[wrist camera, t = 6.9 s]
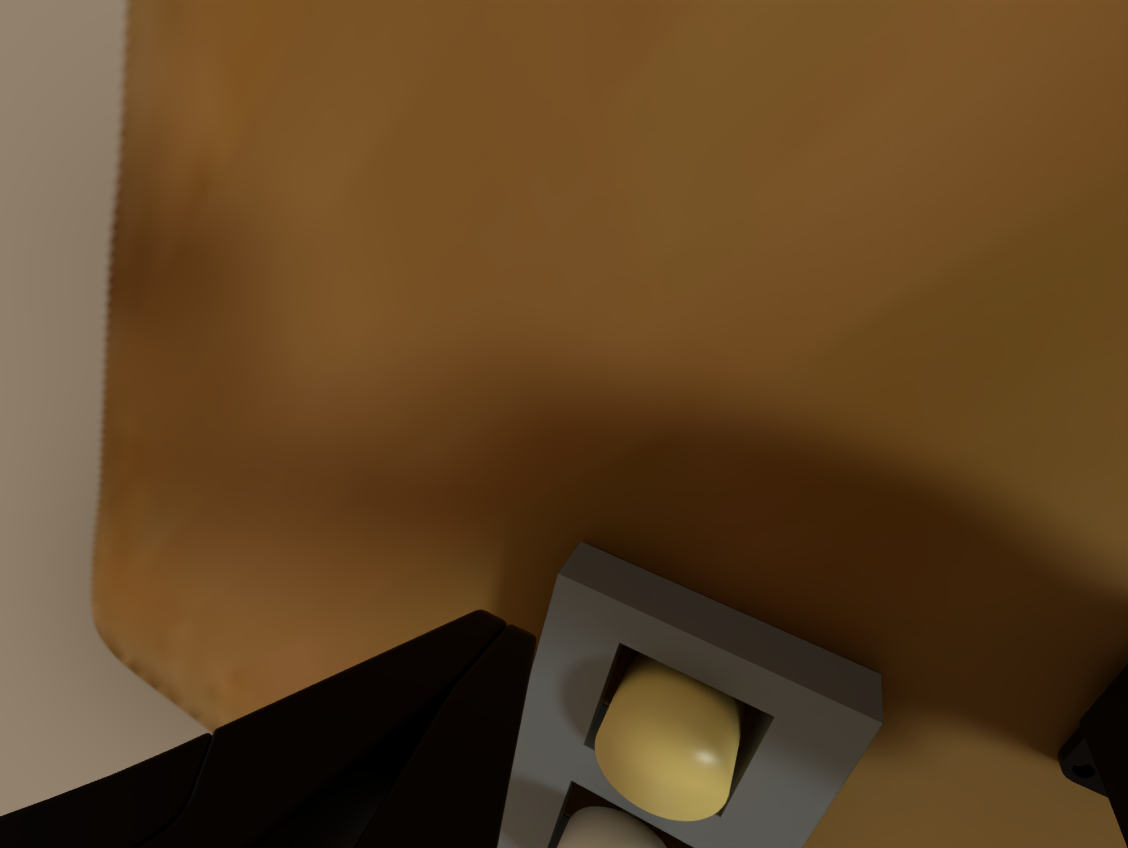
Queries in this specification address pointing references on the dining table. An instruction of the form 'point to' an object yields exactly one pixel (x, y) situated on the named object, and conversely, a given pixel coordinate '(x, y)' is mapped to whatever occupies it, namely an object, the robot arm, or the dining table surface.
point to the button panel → (704, 652)
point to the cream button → (607, 830)
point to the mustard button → (670, 741)
